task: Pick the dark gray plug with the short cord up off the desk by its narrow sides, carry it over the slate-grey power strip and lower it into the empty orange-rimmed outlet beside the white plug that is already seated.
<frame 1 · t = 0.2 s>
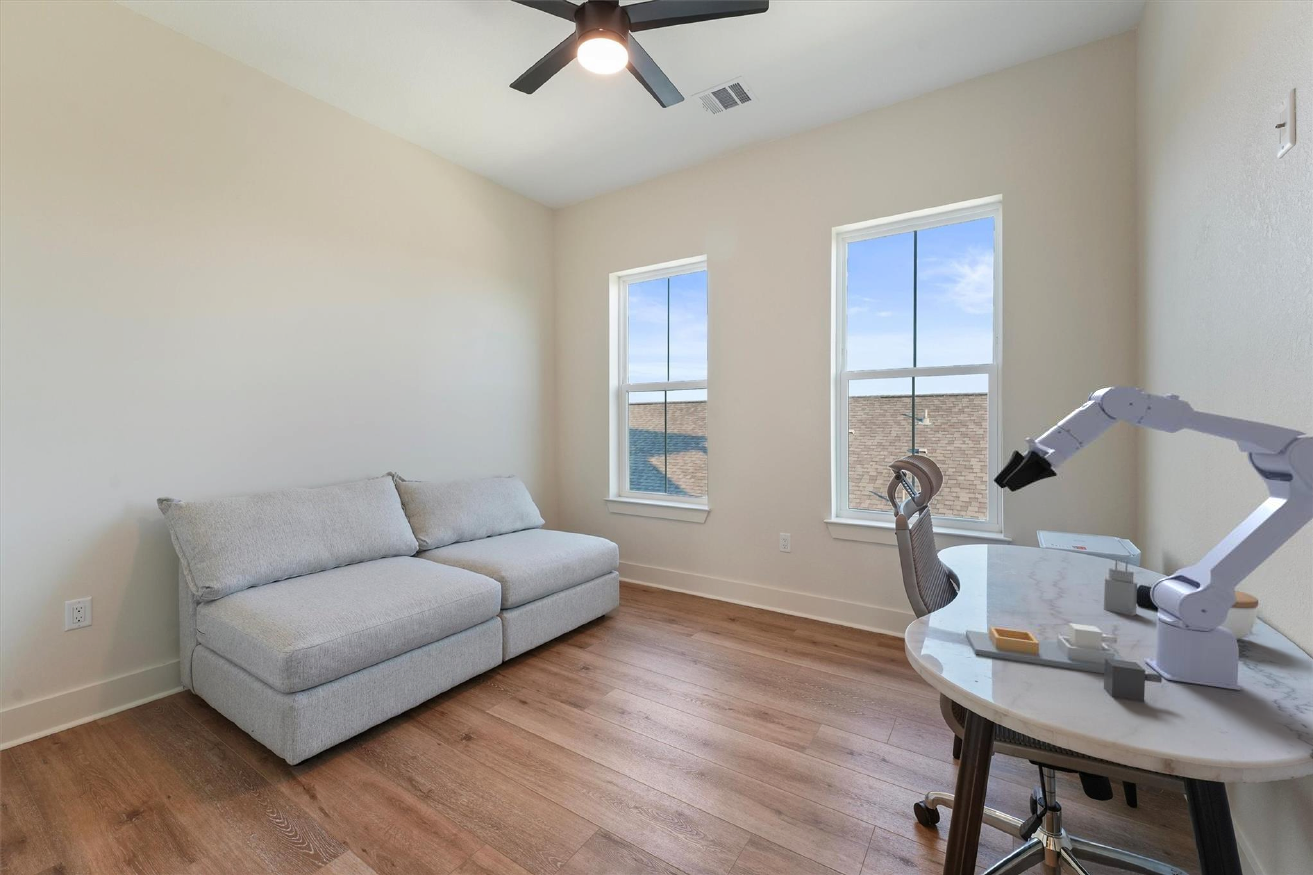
hand: (1002, 485, 100), 31 cm above the table, tool tilted 45°, fingers open, 7 cm apart
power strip: (1044, 654, 99), on the table
dark gray plug: (1123, 695, 84), on the table
white lidded bowl: (1210, 636, 110), on the table
power adapter: (1119, 612, 124), on the table
pipe connector: (1187, 614, 124), on the table
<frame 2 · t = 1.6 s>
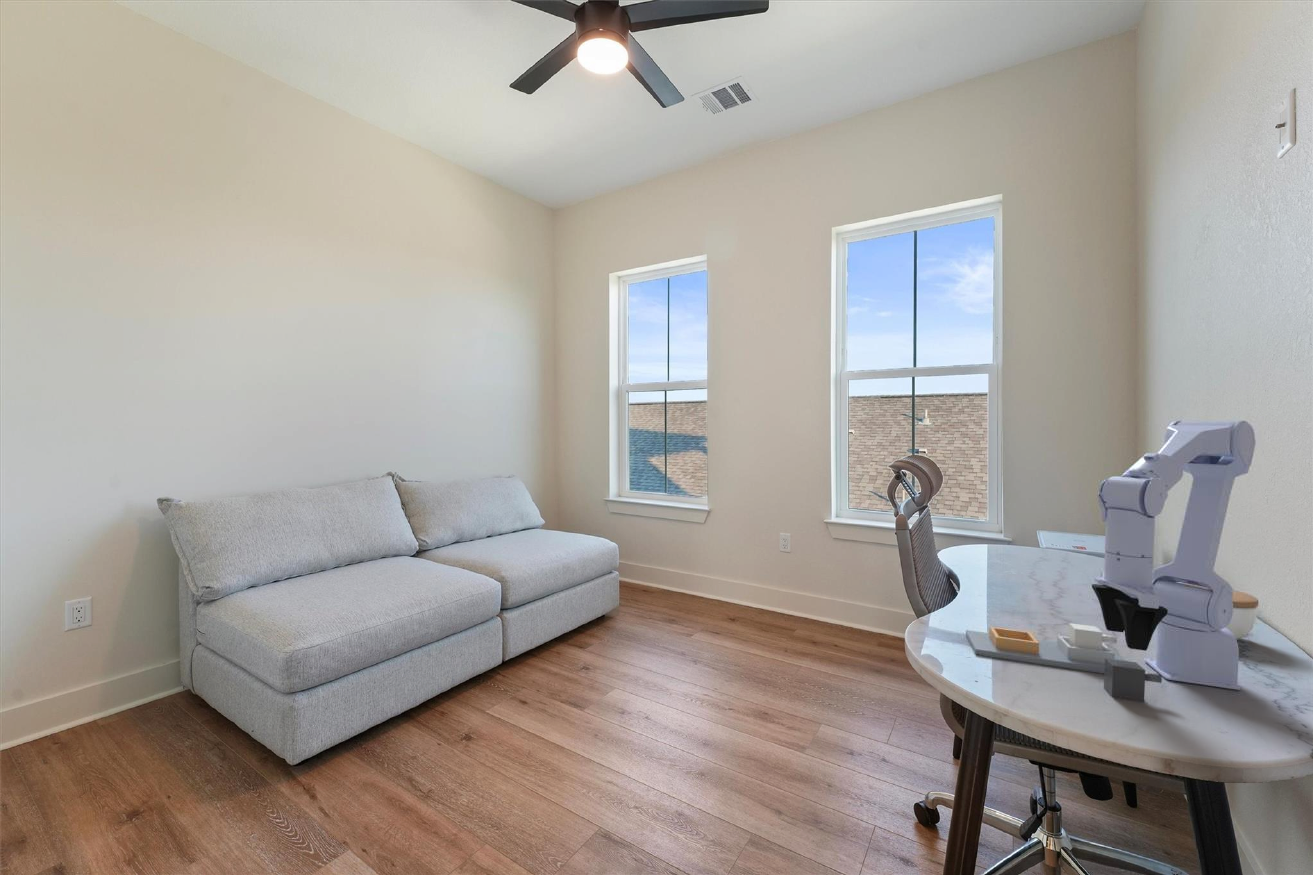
hand: (1125, 639, 84), 9 cm above the table, tool pointing down, fingers open, 7 cm apart
pipe connector: (1185, 614, 123), on the table
everything else where it was.
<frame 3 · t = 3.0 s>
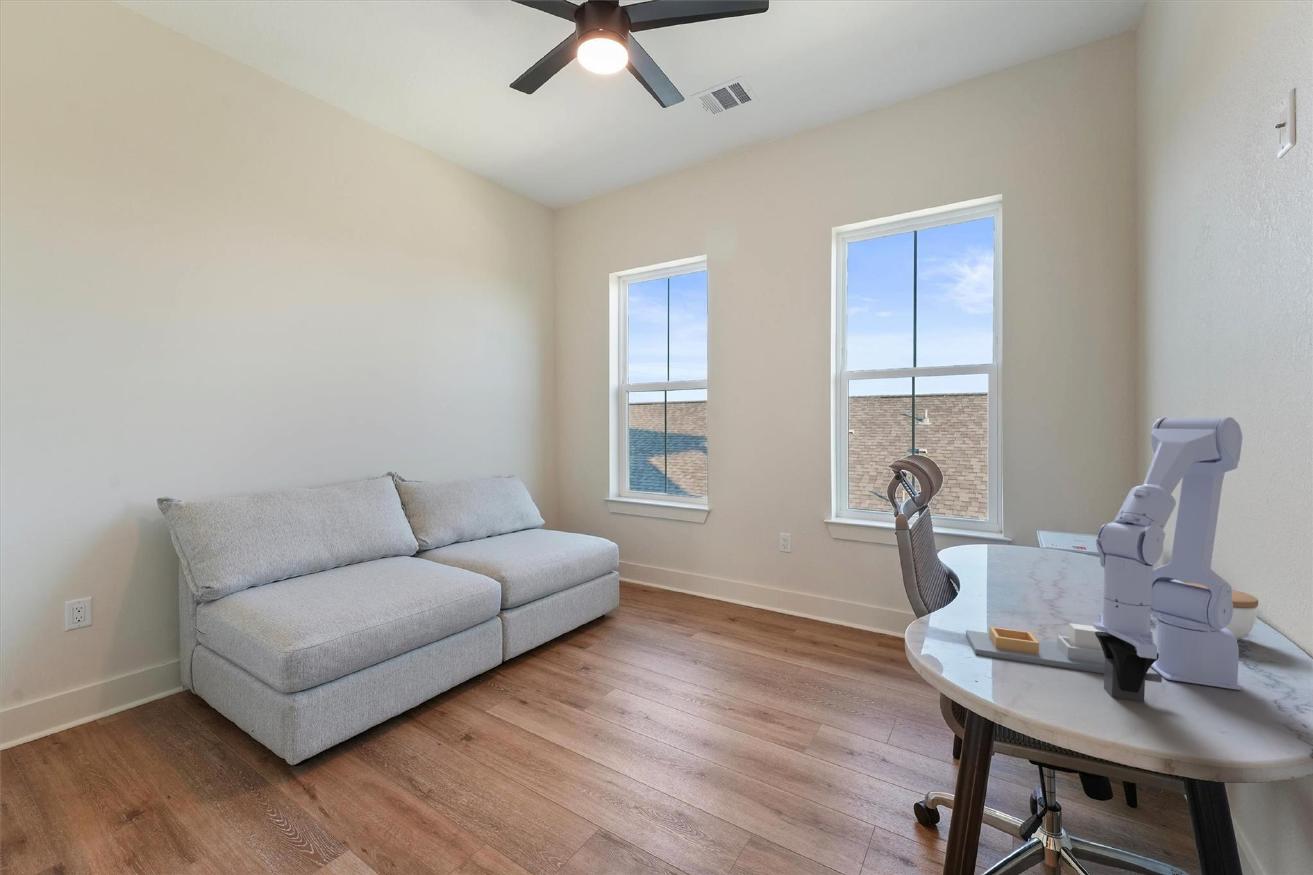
hand: (1123, 685, 84), 2 cm above the table, tool pointing down, fingers closed on dark gray plug, 3 cm apart
dark gray plug: (1123, 695, 84), on the table, touching gripper
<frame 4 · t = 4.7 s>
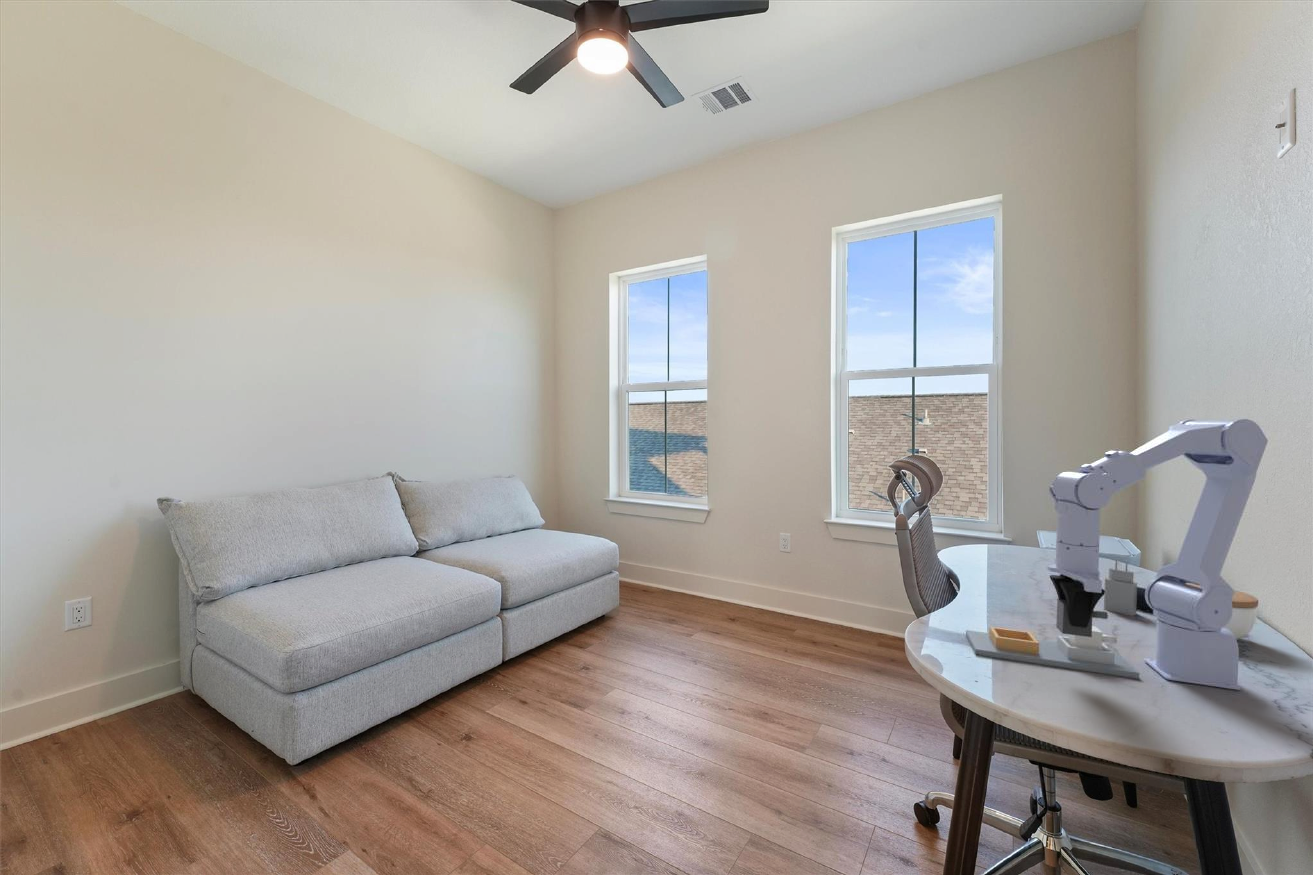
hand: (1074, 622, 91), 9 cm above the table, tool pointing down, fingers closed on dark gray plug, 3 cm apart
dark gray plug: (1073, 632, 91), point 7 cm above the table, touching gripper
pipe connector: (1181, 616, 122), on the table
everything else where it was.
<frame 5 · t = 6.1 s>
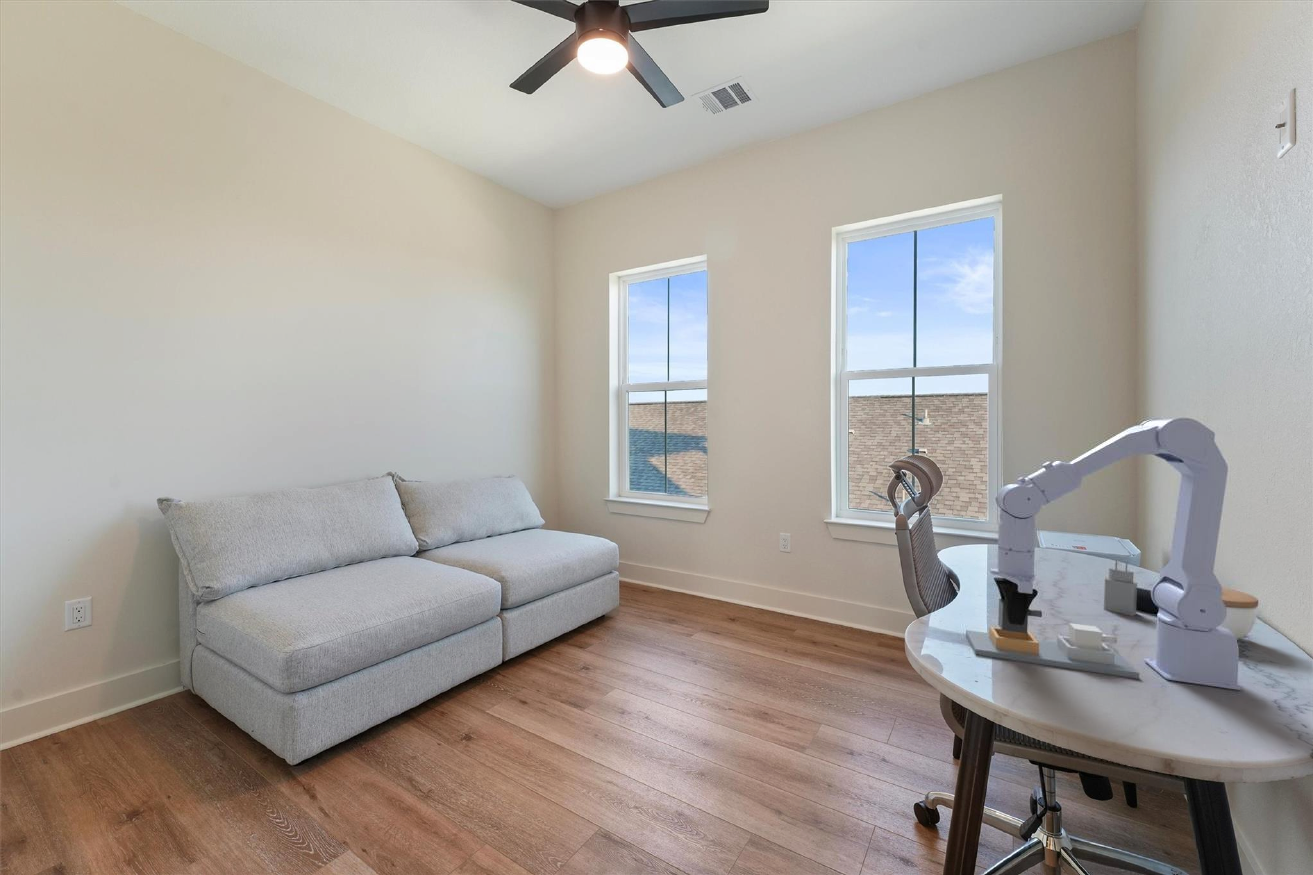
hand: (1013, 620, 101), 6 cm above the table, tool pointing down, fingers closed on dark gray plug, 3 cm apart
dark gray plug: (1012, 628, 101), point 4 cm above the table, touching gripper
when the fingers open (4 cm above the table, at t = 6.8 s): dark gray plug drops 1 cm, resting on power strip.
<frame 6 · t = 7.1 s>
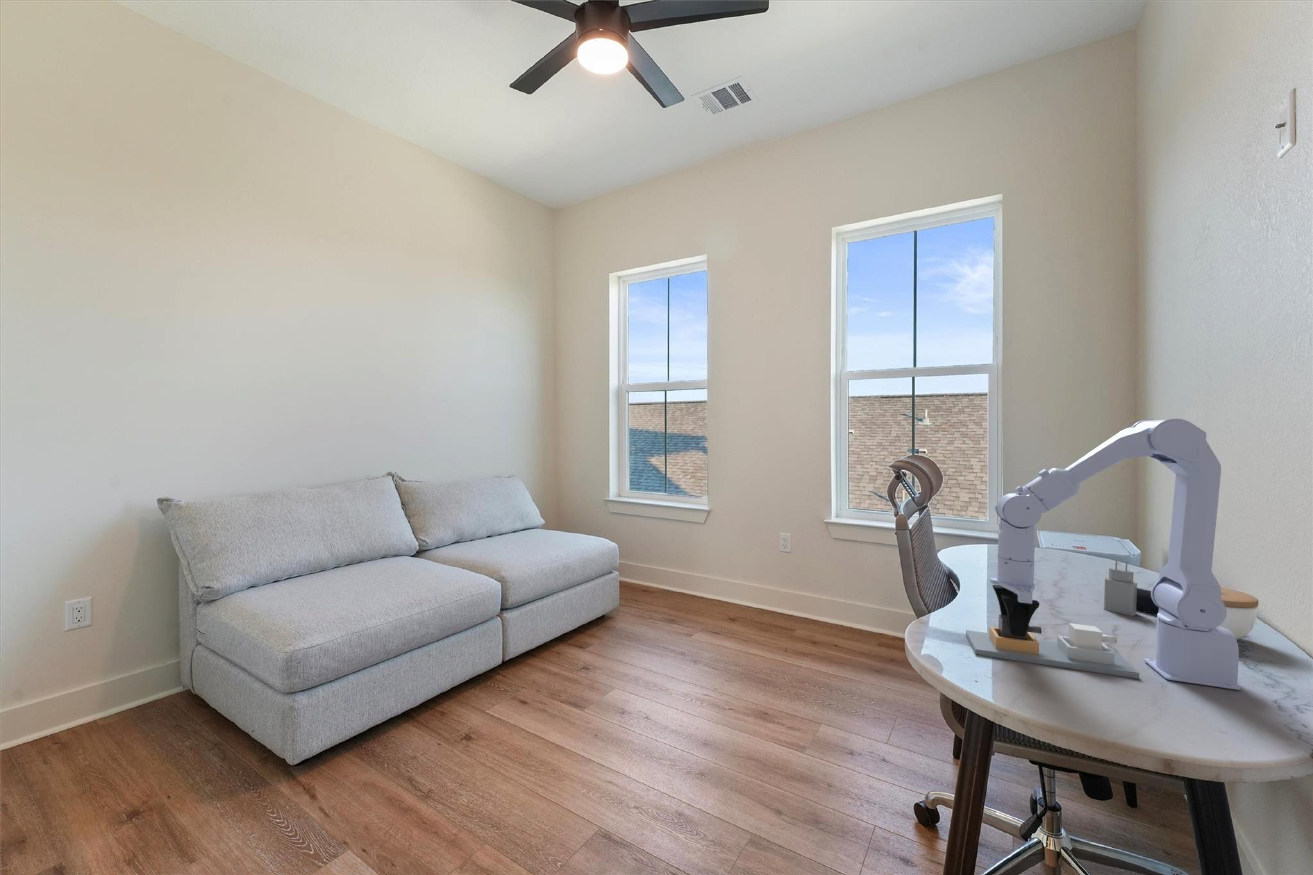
hand: (1013, 629, 101), 4 cm above the table, tool pointing down, fingers open, 5 cm apart
dark gray plug: (1012, 644, 101), point 1 cm above the table, touching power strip
everything else where it was.
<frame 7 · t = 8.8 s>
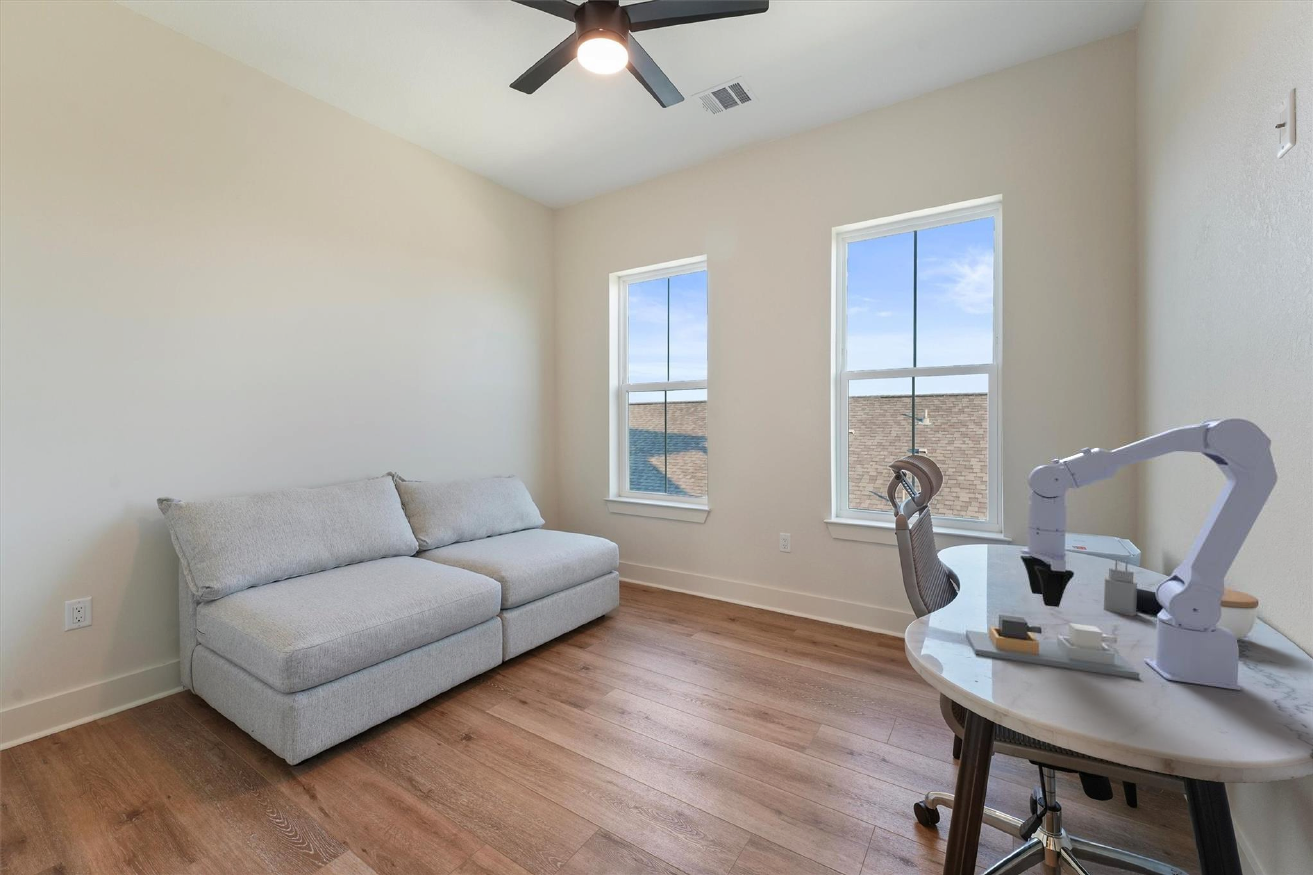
hand: (1044, 599, 102), 9 cm above the table, tool pointing down, fingers open, 7 cm apart
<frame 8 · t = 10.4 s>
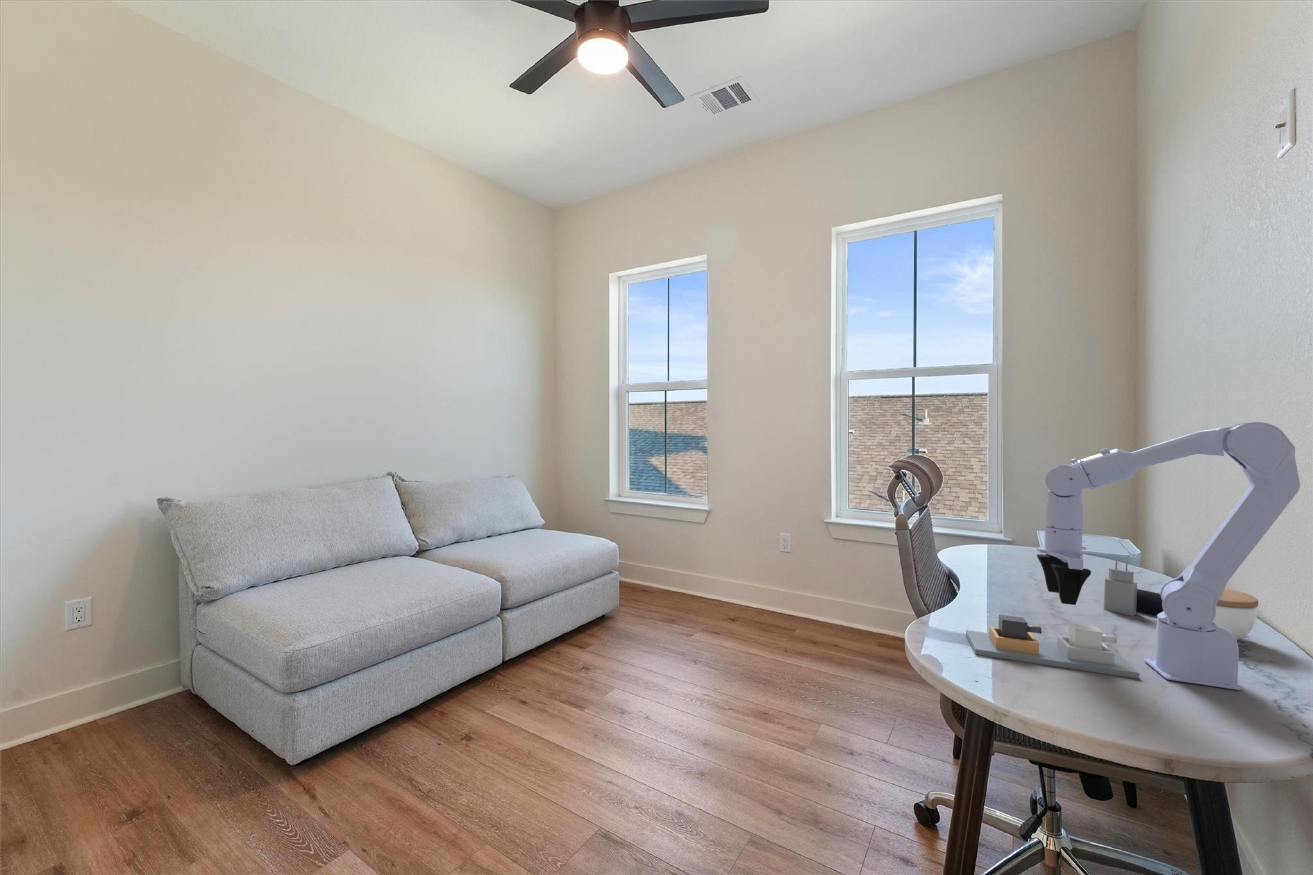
hand: (1061, 597, 103), 9 cm above the table, tool pointing down, fingers open, 7 cm apart
at the end: dark gray plug 0.1 cm from the target spot on the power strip, point 1.0 cm above the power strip's base; dark gray plug tilted 0°; the gripper is holding nothing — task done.
